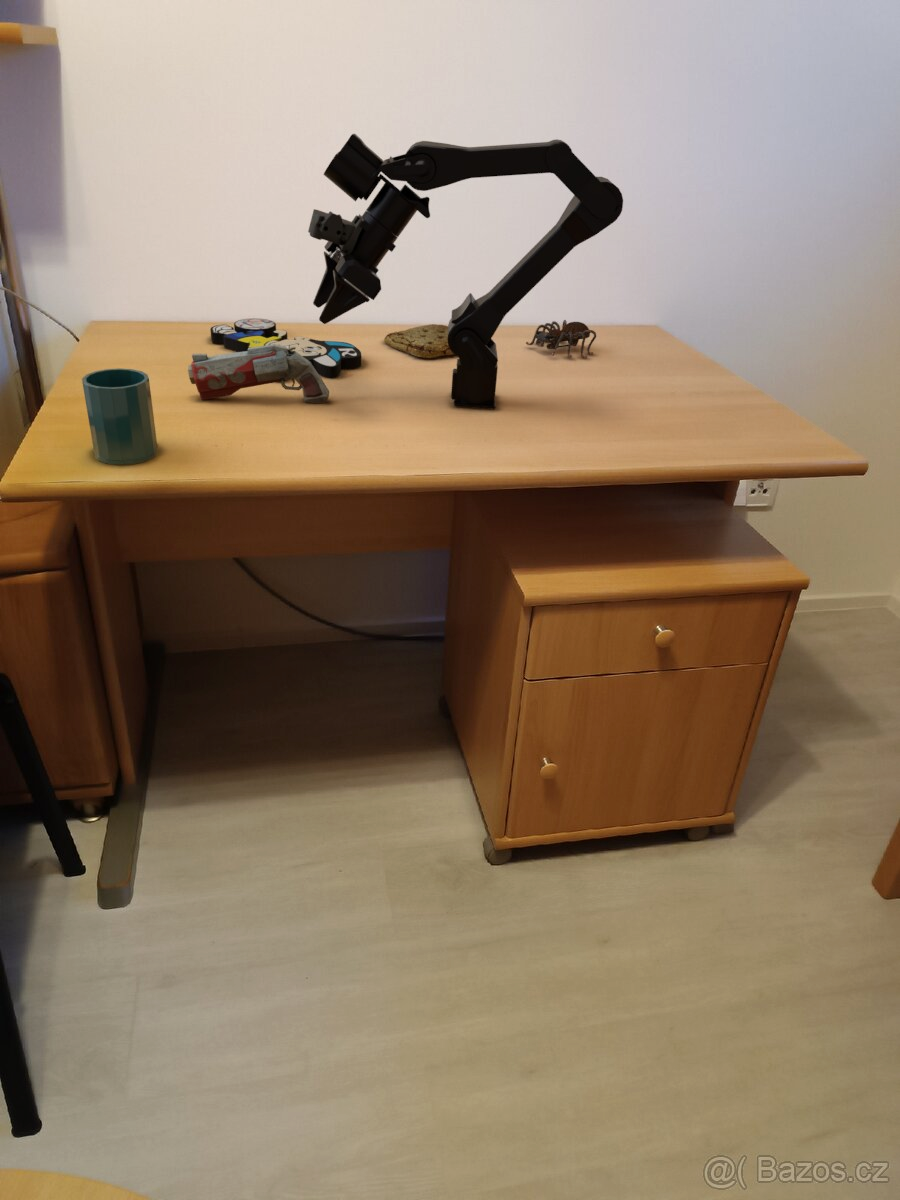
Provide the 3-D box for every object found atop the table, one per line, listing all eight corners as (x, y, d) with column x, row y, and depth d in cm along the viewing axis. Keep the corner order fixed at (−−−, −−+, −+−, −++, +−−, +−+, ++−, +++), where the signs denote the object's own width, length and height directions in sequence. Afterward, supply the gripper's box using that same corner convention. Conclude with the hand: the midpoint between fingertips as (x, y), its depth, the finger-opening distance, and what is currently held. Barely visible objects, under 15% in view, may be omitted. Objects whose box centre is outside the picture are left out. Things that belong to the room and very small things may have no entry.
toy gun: (205, 414, 137) (187, 351, 132) (330, 395, 138) (317, 331, 132) (201, 424, 134) (182, 360, 128) (329, 404, 134) (316, 339, 128)
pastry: (480, 339, 171) (482, 323, 169) (469, 365, 156) (470, 348, 154) (393, 330, 172) (393, 314, 171) (374, 355, 158) (374, 338, 156)
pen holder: (165, 443, 118) (156, 370, 113) (147, 466, 112) (137, 390, 106) (106, 440, 118) (95, 366, 113) (85, 463, 112) (72, 386, 106)
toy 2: (517, 345, 169) (519, 318, 166) (564, 338, 174) (568, 313, 172) (557, 363, 160) (561, 335, 157) (606, 355, 166) (610, 329, 163)
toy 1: (163, 367, 145) (337, 389, 141) (161, 355, 144) (337, 377, 140) (232, 325, 168) (383, 343, 164) (231, 315, 167) (383, 332, 163)
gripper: (328, 177, 129) (269, 265, 134) (344, 196, 114) (276, 295, 119) (388, 226, 135) (328, 310, 139) (410, 251, 119) (342, 344, 124)
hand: (318, 313), depth 130 cm, fingers open, 9 cm apart
